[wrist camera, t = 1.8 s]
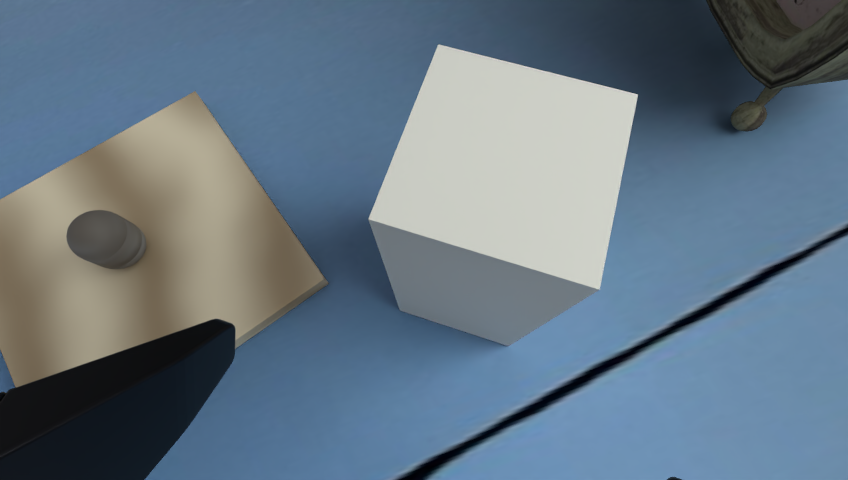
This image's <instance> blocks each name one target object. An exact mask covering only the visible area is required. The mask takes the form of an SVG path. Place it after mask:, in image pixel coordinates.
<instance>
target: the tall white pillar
mask: <svg viewBox="0 0 848 480" xmlns="http://www.w3.org/2000/svg"><path fill="white" fill-rule="evenodd" d="M637 98H638V94H634V93H630V92H626V91H622V90H618V89H614V88H610V87H606V86H602V85H598V84H594V83H590V82H586V81H582V80H578V79H574V78H570V77H566V76H562V75H558V74H554V73H550V72H546V71H542V70H538V69H534V68H530V67H526V66H522V65H518V64H514V63H510V62H506V61H502V60H498V59H494V58H490V57H486V56H482V55H478V54H474V53H470V52H466V51H462V50H458V49H454V48H450V47H446V46H442V45H438V47H437V49H436V52H435V54H434V57H433V59H432V62H431V64H430V67H429V69H428V72H427V74H426V77H425V79H424V82H423V84H422V87H421V89H420V92H419V94H418V97H417V99H416V102H415V104H414V107H413V109H412V112H411V114H410V117H409V119H408V122H407V124H406V127H405V129H404V132H403V134H402V137H401V139H400V142H399V144H398V146H397V149H396V151H395V154H394V156H393V159H392V161H391V164H390V166H389V169H388V171H387V174H386V176H385V179H384V181H383V184H382V186H381V189H380V191H379V194H378V196H377V199H376V201H375V204H374V206H373V209H372V211H371V214H370V216H369V219H368V220H369V222H370V225H371V228H372V231H373V234H374V237H375V240H376V243H377V246H378V249H379V251H380V254H381V257H382V260H383V263H384V266H385V269H386V272H387V275H388V278H389V280H390V283H391V286H392V289H393V292H394V295H395V298H396V301H397V304H398V307H399V309H400V311H403V312H406V313H409V314H412V315H415V316H418V317H421V318H424V319H427V320H430V321H433V322H436V323H439V324H442V325H445V326H448V327H451V328H454V329H458V330H461V331H464V332H467V333H470V334H473V335H476V336H479V337H482V338H485V339H488V340H491V341H494V342H497V343H500V344H503V345H506V346H510V345H511V344H513V343H515V342H516V341H518V340H519V339H521V338H523V337H524V336H526V335H527V334H529V333H531V332H532V331H534V330H535V329H537V328H539V327H540V326H542V325H543V324H545V323H547V322H548V321H550V320H551V319H553V318H555V317H556V316H558V315H559V314H561V313H563V312H564V311H566V310H568V309H569V308H571V307H572V306H574V305H576V304H577V303H579V302H580V301H582V300H584V299H585V298H587V297H588V296H590V295H592V294H593V293H595V292H596V291H598V290H599V289H600V284H601V279H602V274H603V269H604V264H605V259H606V254H607V249H608V244H609V239H610V234H611V229H612V224H613V219H614V214H615V209H616V204H617V199H618V193H619V188H620V183H621V178H622V173H623V168H624V163H625V158H626V153H627V148H628V143H629V138H630V133H631V128H632V123H633V118H634V113H635V108H636V103H637Z"/></svg>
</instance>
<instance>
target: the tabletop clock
mask: <svg viewBox="0 0 848 480" xmlns="http://www.w3.org/2000/svg"><path fill="white" fill-rule="evenodd" d="M706 1H707V3H708V6H709V8H710V11H711V13H712V14H713V16H714V18H715V20H716V21H717V23H718V25H719V26H720V28H721V30H722V32H723V33H724V35H725V37H726V38H727V40H728V42H729V44H730V45H731V47H732V49H733V51H734V52H735V54H736V55H737V57H738V59H739V60H740V62H741V63H742V65H743V66H744V67H745V68H746V70H747V71H748V72H749V73H750V74H751V75H752V76H753V77H754V78H755V79H757V80H758V81H759V82H761V83H762V84H764V85H765V86H766V87H765V88H764V90H763V91H762V92H761V94H760V95H759V96H758V98H757V99H756V100H755V102H752V101H750V102H745V103H742V104H740V105H739V106H738V107H737V108H736V109H735V110H734V112H733V113H732V115H731V123H732V125H733V127H735V128H736V129H737V130H741V131H752V130H755V129H757V128H758V127H760V126H761V125H762V124H763V122H764V121H765V119H766V116H767V112H766V108H765V107H764V105H766V104H767V103H768V102H769V101H770V100H771V99H772V98H773V97H774V96H775V95H776V94H777V93H778V92H779V91H780V90H781V89H782V88H785V87H792V86H800V85H808V84H816V83H824V82H832V81H839V80H847V79H848V0H706Z"/></svg>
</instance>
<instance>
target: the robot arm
mask: <svg viewBox="0 0 848 480" xmlns="http://www.w3.org/2000/svg"><path fill="white" fill-rule="evenodd" d="M235 335H236V329H235V326H234V325H233V324H232V323H229V322H227V321H224V320H221V319H212V320H209V321H206V322H203V323H200V324H197V325H195V326H192V327H189V328H186V329H183V330H180V331H177V332H174V333H171V334H169V335H166V336H163V337H160V338H157V339H154V340H151V341H148V342H146V343H143V344H140V345H137V346H134V347H131V348H128V349H125V350H123V351H120V352H117V353H114V354H111V355H108V356H105V357H102V358H99V359H97V360H94V361H91V362H88V363H85V364H82V365H79V366H76V367H74V368H71V369H68V370H65V371H62V372H59V373H56V374H53V375H50V376H48V377H45V378H42V379H39V380H36V381H33V382H30V383H27V384H25V385H22V386H19V387H16V388H13V389H10V390H8V392H7V393H5V392H1V393H0V480H144V479H145V478H146V477H147V476H148V475H149V473H150V472H151V471H152V470H153V469H154V467H155V466H156V465H157V464H158V463H159V461H160V460H161V459H162V458H163V457H164V455H165V454H166V453H167V452H168V451H169V450H170V448H171V447H172V446H173V445H174V444H175V442H176V441H177V440H178V439H179V438H180V436H181V435H182V434H183V433H184V431H185V430H186V429H187V428H188V426H189V425H190V423H191V422H192V421H193V419H194V418H195V416H196V415H197V414H198V412H199V411H200V409H201V408H202V406H203V405H204V403H205V402H206V400H207V399H208V397H209V396H210V394H211V393H212V392H213V390H214V389H215V387H216V386H217V384H218V383H219V381H220V380H221V378H222V377H223V375H224V374H225V372H226V371H227V370H228V368H229V367H230V365H231V363H232V361H233V359H234V356H235ZM667 480H682V479H679V478H676V477H670V478H668V479H667Z"/></svg>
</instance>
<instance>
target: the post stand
mask: <svg viewBox="0 0 848 480" xmlns="http://www.w3.org/2000/svg"><path fill="white" fill-rule="evenodd" d="M328 284H329V283H328V282H327V280H326V279H325V277H324V276H323V274H322V273H321V271H320V270H319V269H318V267H317V266H316V264H315V263H314V261H313V260H312V258H311V257H310V256H309V254H308V253H307V251H306V250H305V248H304V247H303V245H302V244H301V243H300V241H299V240H298V238H297V237H296V235H295V234H294V232H293V231H292V229H291V228H290V227H289V225H288V224H287V222H286V221H285V219H284V218H283V216H282V215H281V214H280V212H279V211H278V209H277V208H276V206H275V205H274V203H273V202H272V201H271V199H270V198H269V196H268V195H267V193H266V192H265V190H264V189H263V188H262V186H261V185H260V183H259V182H258V180H257V179H256V177H255V176H254V175H253V173H252V172H251V170H250V169H249V167H248V166H247V164H246V163H245V161H244V160H243V159H242V157H241V156H240V154H239V153H238V151H237V150H236V148H235V147H234V146H233V144H232V143H231V141H230V140H229V138H228V137H227V135H226V134H225V133H224V131H223V130H222V128H221V127H220V125H219V124H218V122H217V121H216V120H215V118H214V117H213V115H212V114H211V112H210V111H209V109H208V108H207V106H206V105H205V104H204V102H203V101H202V100H201V98H200V97H199V96H198V94H197V93H196V92H193V93H191V94H189V95H188V96H186V97H184V98H182V99H180V100H179V101H177V102H175V103H173V104H171V105H170V106H168V107H166V108H164V109H162V110H161V111H159V112H157V113H155V114H153V115H152V116H150V117H148V118H146V119H144V120H143V121H141V122H139V123H137V124H135V125H134V126H132V127H130V128H128V129H126V130H125V131H123V132H121V133H119V134H117V135H116V136H114V137H112V138H110V139H108V140H106V141H105V142H103V143H101V144H99V145H97V146H96V147H94V148H92V149H90V150H88V151H87V152H85V153H83V154H81V155H79V156H78V157H76V158H74V159H72V160H70V161H69V162H67V163H65V164H63V165H61V166H60V167H58V168H56V169H54V170H52V171H51V172H49V173H47V174H45V175H43V176H42V177H40V178H38V179H36V180H34V181H33V182H31V183H29V184H27V185H25V186H24V187H22V188H20V189H18V190H16V191H15V192H13V193H11V194H9V195H7V196H6V197H4V198H2V199H0V350H1V352H2V355H3V357H4V359H5V362H6V364H7V367H8V369H9V372H10V374H11V377H12V379H13V382H14V384H15V387H19V386H22V385H25V384H27V383H30V382H33V381H36V380H39V379H42V378H45V377H48V376H50V375H53V374H56V373H59V372H62V371H65V370H68V369H71V368H74V367H76V366H79V365H82V364H85V363H88V362H91V361H94V360H97V359H99V358H102V357H105V356H108V355H111V354H114V353H117V352H120V351H123V350H125V349H128V348H131V347H134V346H137V345H140V344H143V343H146V342H148V341H151V340H154V339H157V338H160V337H163V336H166V335H169V334H171V333H174V332H177V331H180V330H183V329H186V328H189V327H192V326H195V325H197V324H200V323H203V322H206V321H209V320H212V319H221V320H224V321H227V322H229V323H232V324H233V325H234V326H235V329H236V335H235V349H236V348H237V347H239V346H240V345H241V344H243V343H244V342H246V341H247V340H249V339H250V338H252V337H253V336H254V335H256V334H257V333H259V332H260V331H262V330H263V329H264V328H266V327H267V326H269V325H270V324H272V323H273V322H275V321H276V320H277V319H279V318H280V317H282V316H283V315H285V314H286V313H287V312H289V311H290V310H292V309H293V308H295V307H296V306H298V305H299V304H300V303H302V302H303V301H305V300H306V299H308V298H309V297H310V296H312V295H313V294H315V293H316V292H318V291H319V290H321V289H322V288H323V287H325V286H326V285H328Z"/></svg>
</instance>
